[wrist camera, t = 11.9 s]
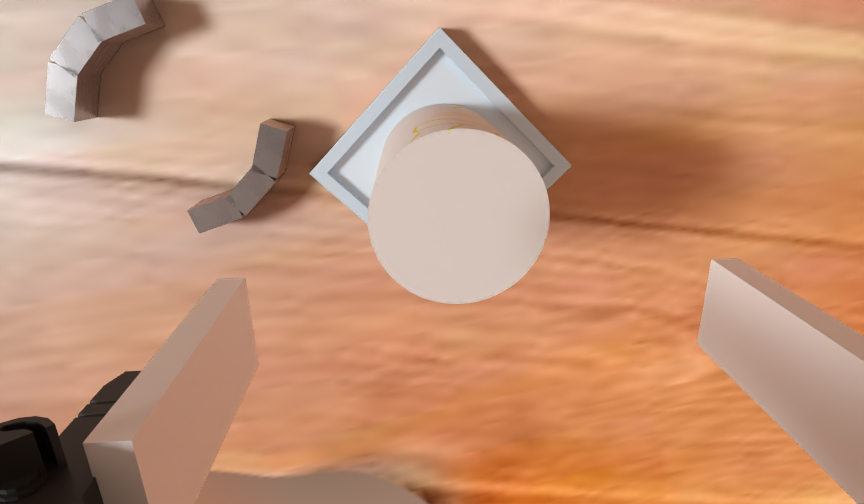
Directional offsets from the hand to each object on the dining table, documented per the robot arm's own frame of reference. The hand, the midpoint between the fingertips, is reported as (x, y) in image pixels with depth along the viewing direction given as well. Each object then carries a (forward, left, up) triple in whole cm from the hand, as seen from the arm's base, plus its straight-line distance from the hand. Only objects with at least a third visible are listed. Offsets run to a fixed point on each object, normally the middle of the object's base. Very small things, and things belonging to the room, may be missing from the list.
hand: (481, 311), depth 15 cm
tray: (0, 0, -22) cm, 22 cm away
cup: (0, 0, -21) cm, 21 cm away
